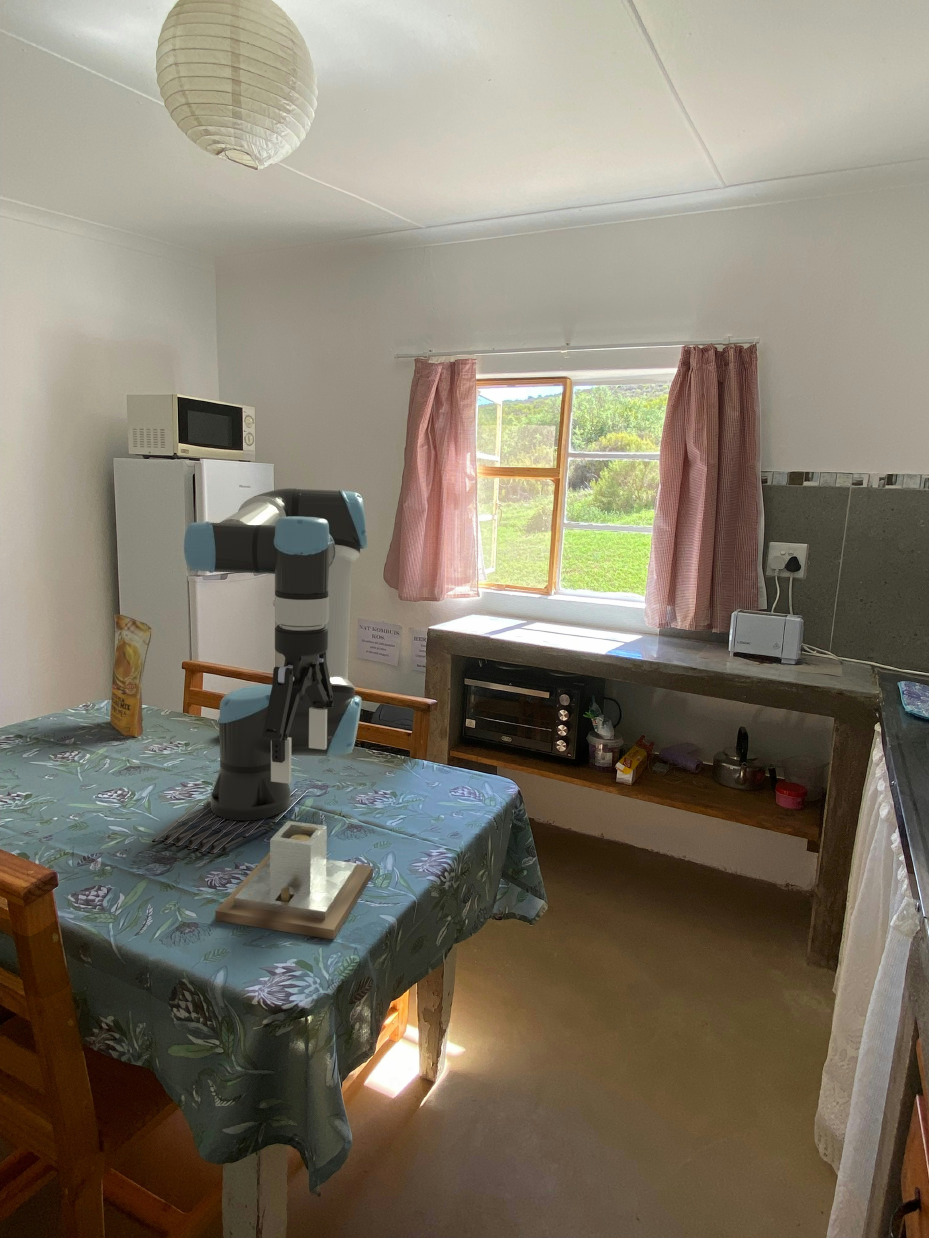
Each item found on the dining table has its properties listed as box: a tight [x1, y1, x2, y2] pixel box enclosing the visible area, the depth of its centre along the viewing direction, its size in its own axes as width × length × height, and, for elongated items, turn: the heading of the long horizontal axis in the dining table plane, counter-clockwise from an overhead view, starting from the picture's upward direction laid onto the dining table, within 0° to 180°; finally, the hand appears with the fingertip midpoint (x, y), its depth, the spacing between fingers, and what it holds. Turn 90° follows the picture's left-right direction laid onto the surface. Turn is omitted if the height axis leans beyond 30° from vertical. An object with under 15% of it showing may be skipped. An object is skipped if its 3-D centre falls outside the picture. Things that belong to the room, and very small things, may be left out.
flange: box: [234, 820, 358, 919], centre depth 111 cm, size 14×14×9 cm
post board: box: [214, 834, 374, 940], centre depth 111 cm, size 18×18×10 cm
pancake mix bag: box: [109, 613, 153, 738], centre depth 180 cm, size 7×19×28 cm, turn 42°
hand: (300, 763), depth 108 cm, fingers open, 13 cm apart
